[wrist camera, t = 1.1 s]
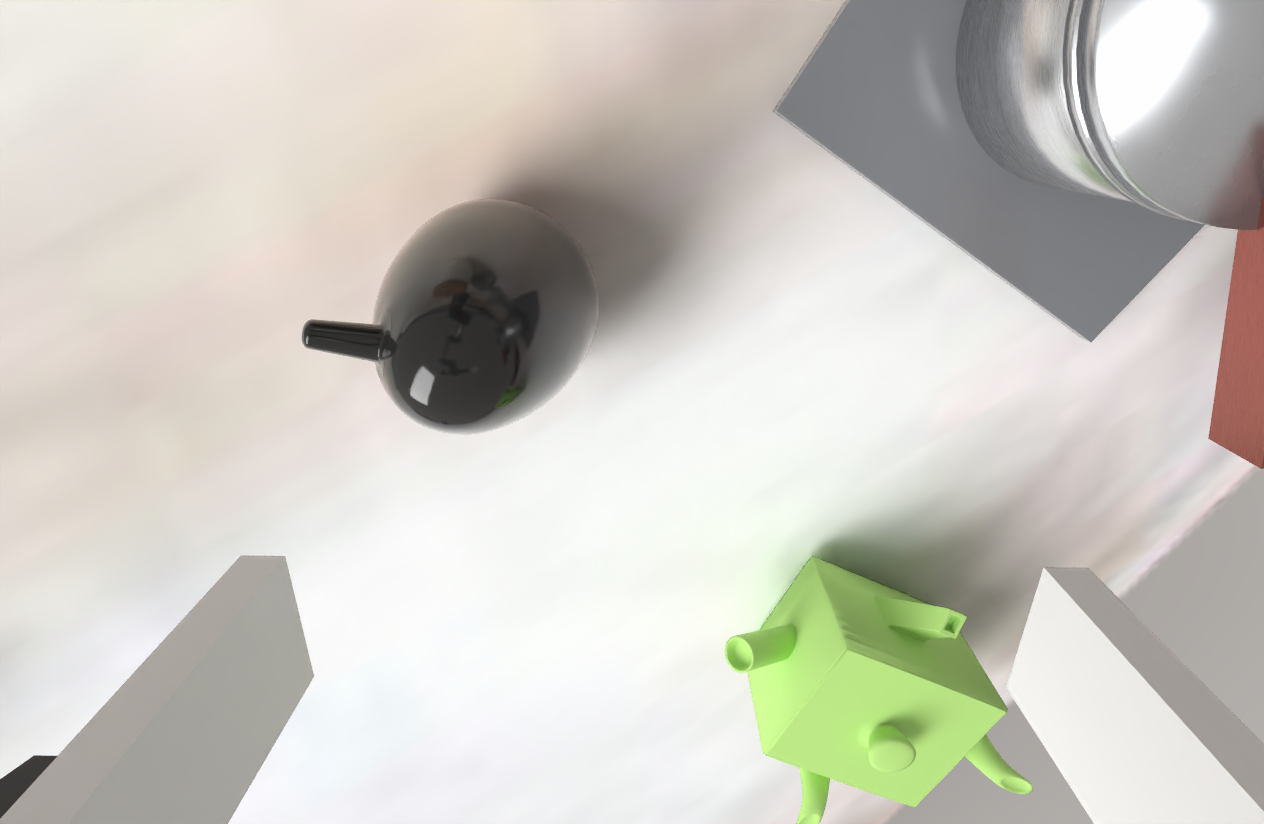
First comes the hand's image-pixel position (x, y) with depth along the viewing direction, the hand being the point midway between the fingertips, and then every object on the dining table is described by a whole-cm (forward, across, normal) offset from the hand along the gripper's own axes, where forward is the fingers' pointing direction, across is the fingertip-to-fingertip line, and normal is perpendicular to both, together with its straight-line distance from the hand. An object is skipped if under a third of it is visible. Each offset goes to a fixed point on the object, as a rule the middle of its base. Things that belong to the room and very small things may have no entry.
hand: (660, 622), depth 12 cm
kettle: (+28, +14, -24) cm, 40 cm away
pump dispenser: (+28, -8, 0) cm, 29 cm away
